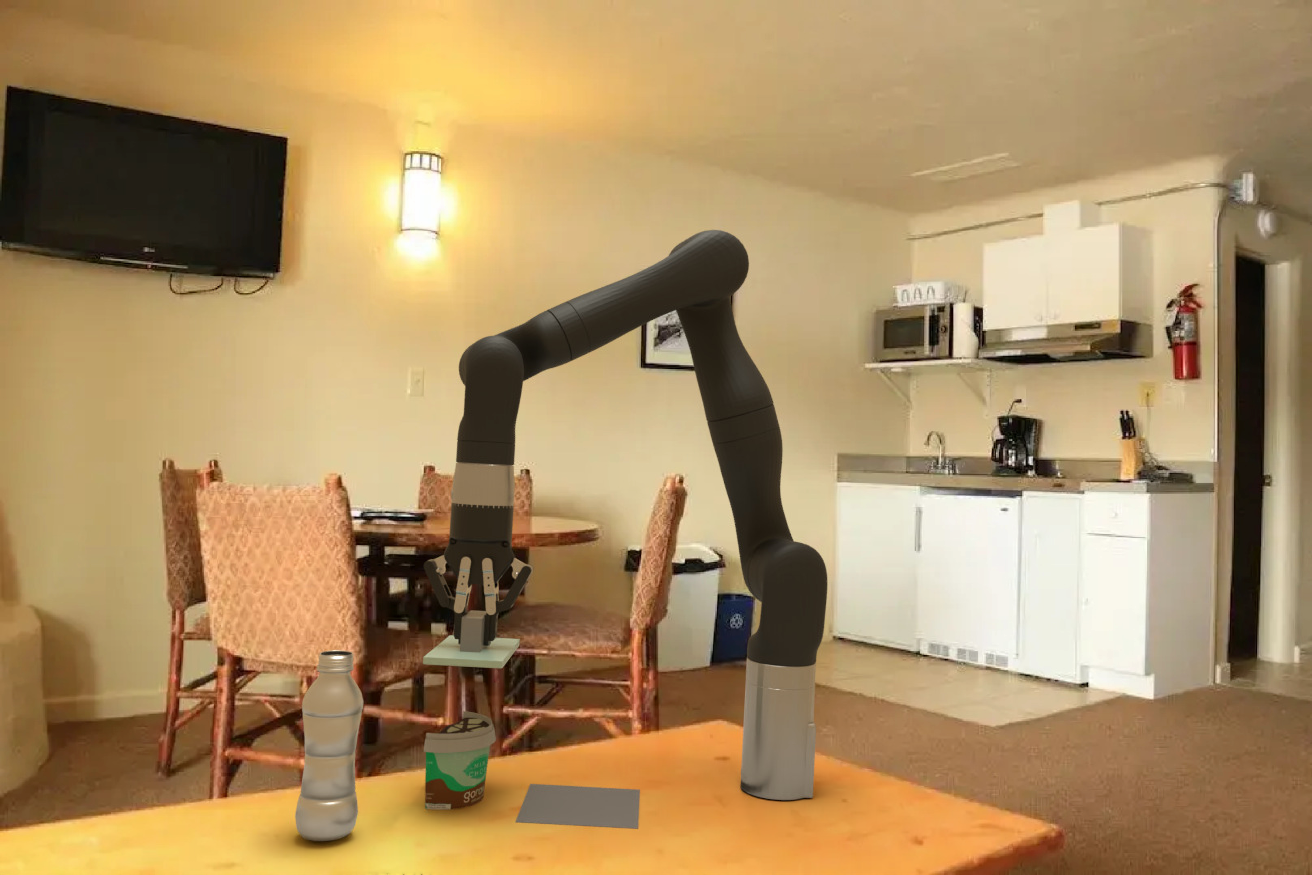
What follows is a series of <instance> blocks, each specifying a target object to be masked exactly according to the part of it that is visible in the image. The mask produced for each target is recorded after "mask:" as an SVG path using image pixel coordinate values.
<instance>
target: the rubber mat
mask: <svg viewBox="0 0 1312 875" xmlns="http://www.w3.org/2000/svg"><path fill="white" fill-rule="evenodd" d="M640 794H641V790H640V789H637V788H636V789H635V788H633V789H631V788H616V787H615V788H614V787H597V786H580V785H578V786H577V785H562V784H560V785H559V784H544V783H543V784H542V783H541V784H540V783H530V784H529V786H528V789H527V792H526V793H525V797H524V799H523V801H522V804H521V806H520V809H519V812H518V814H517V817H516V819H515V823H517V824H518V823H519V824H520V823H521V824H537V825H538V824H539V825H540V824H541V825H559V826H579V827H595V828H596V827H597V828H613V829H614V828H616V829H617V828H618V829H633V830H634V829H635V830H638V829H639V818H640V800H641V799H640V796H641V795H640Z"/></svg>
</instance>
